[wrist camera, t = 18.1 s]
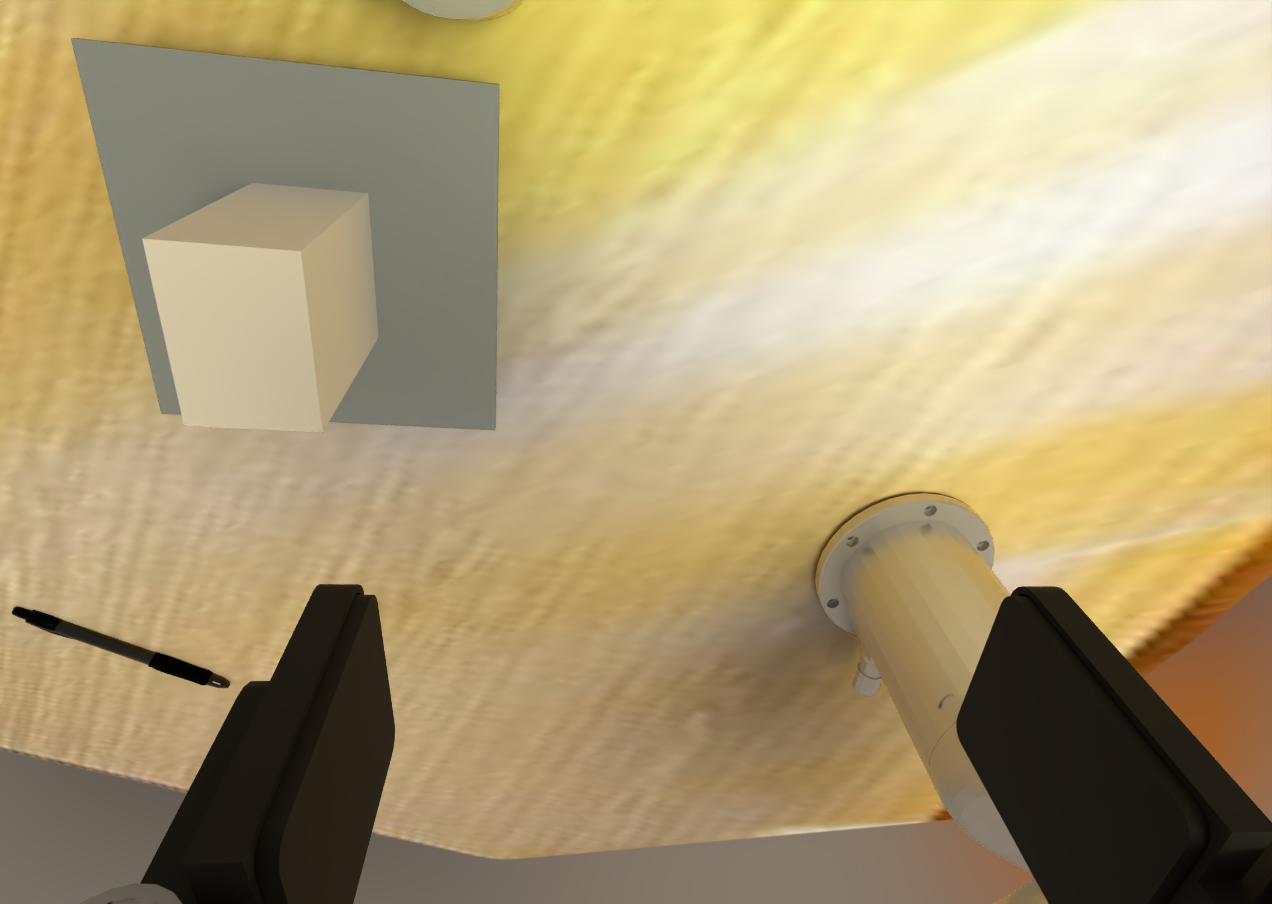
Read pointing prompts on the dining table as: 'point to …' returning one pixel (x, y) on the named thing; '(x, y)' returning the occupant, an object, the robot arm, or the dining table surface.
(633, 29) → the dining table surface
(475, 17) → the grey cylinder
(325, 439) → the dining table surface
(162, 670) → the pen
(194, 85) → the podium
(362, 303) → the carton
